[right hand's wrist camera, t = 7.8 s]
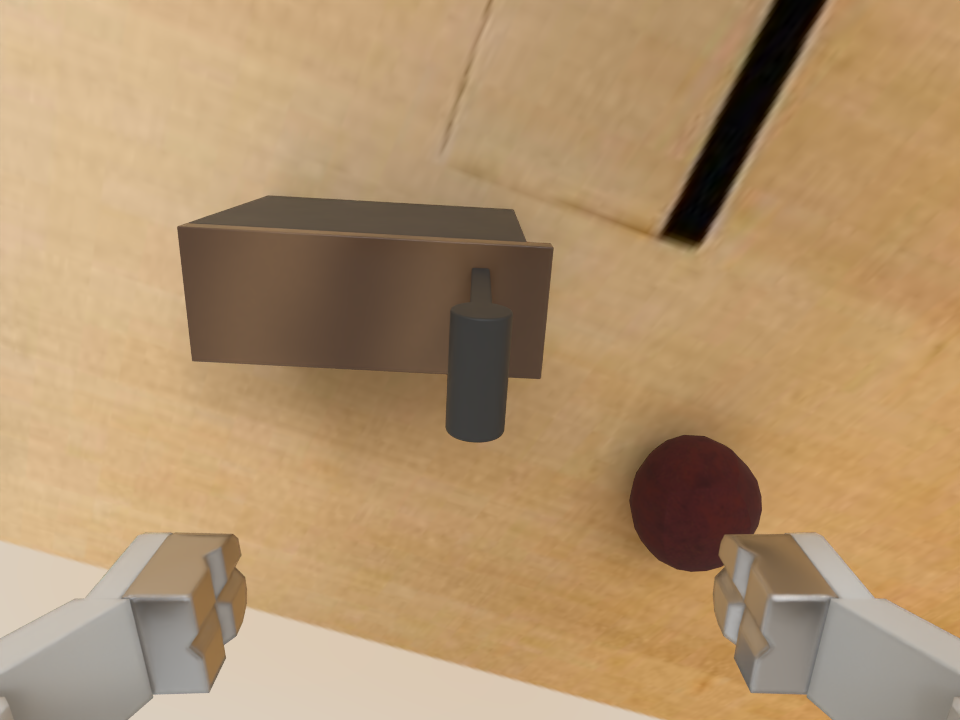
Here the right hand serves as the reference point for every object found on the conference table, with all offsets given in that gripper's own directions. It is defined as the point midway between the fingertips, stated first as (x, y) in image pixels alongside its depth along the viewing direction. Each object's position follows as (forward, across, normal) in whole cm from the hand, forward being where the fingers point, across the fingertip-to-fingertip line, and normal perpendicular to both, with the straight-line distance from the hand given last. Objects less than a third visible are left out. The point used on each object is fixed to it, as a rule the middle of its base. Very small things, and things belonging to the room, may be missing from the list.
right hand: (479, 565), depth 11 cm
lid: (+16, -5, 0) cm, 17 cm away
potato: (+26, +12, -14) cm, 32 cm away
